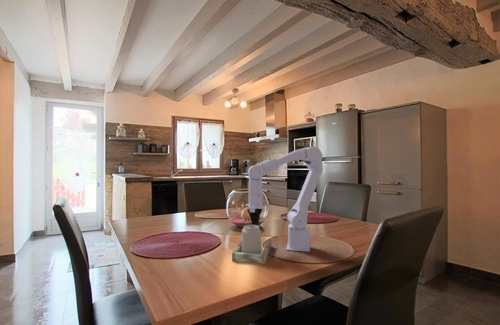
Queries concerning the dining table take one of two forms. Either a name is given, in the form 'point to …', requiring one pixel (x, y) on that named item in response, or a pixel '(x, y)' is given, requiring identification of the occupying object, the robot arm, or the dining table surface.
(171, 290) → the dining table surface
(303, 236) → the robot arm
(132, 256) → the dining table surface
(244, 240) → the can
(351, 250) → the dining table surface
